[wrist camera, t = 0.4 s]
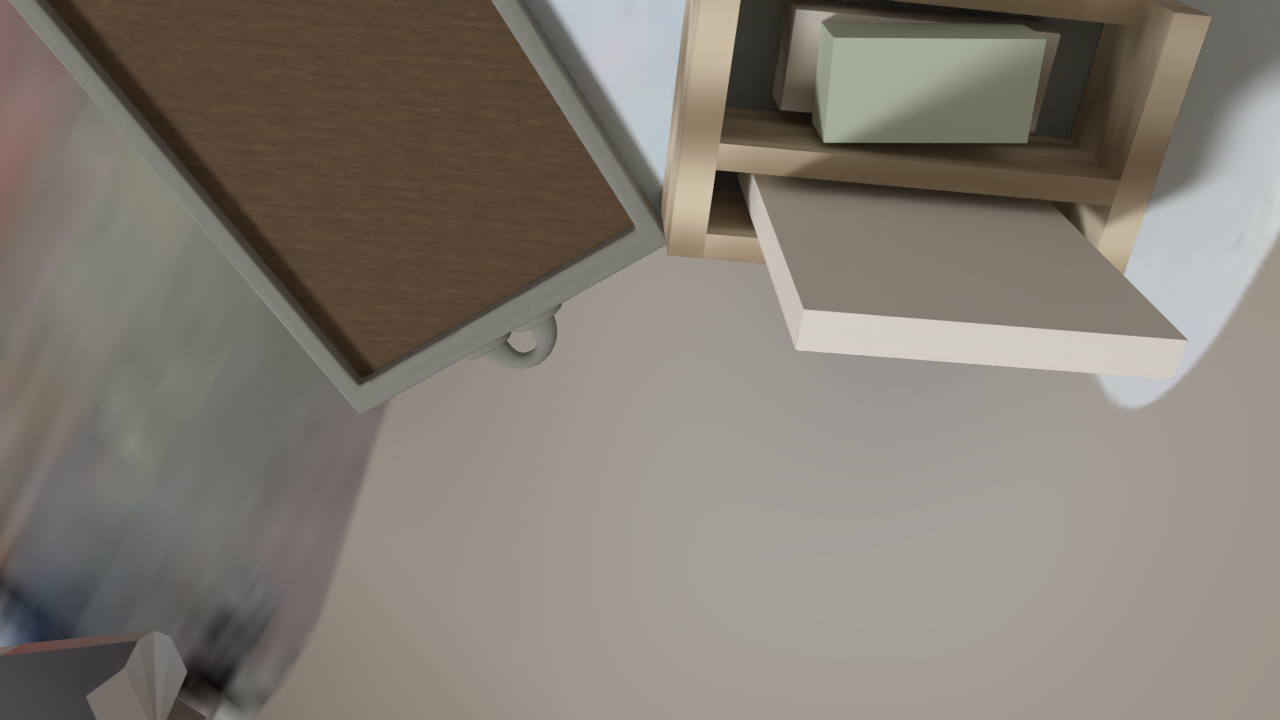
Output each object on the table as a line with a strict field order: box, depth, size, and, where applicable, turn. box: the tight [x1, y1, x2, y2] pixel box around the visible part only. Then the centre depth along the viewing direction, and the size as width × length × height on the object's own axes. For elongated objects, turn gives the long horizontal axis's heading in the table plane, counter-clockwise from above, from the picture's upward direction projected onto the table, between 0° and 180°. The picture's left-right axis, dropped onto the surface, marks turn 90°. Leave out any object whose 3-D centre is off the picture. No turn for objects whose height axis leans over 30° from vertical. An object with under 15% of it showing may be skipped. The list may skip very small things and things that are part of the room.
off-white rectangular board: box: [737, 172, 1188, 379], centre depth 48 cm, size 2×14×18 cm, turn 84°
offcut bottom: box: [772, 0, 1061, 132], centre depth 52 cm, size 4×12×3 cm, turn 85°
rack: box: [661, 0, 1212, 275], centre depth 51 cm, size 13×21×6 cm, turn 84°
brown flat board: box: [9, 0, 666, 414], centre depth 53 cm, size 19×2×30 cm
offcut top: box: [812, 22, 1047, 143], centre depth 49 cm, size 4×9×3 cm, turn 89°
